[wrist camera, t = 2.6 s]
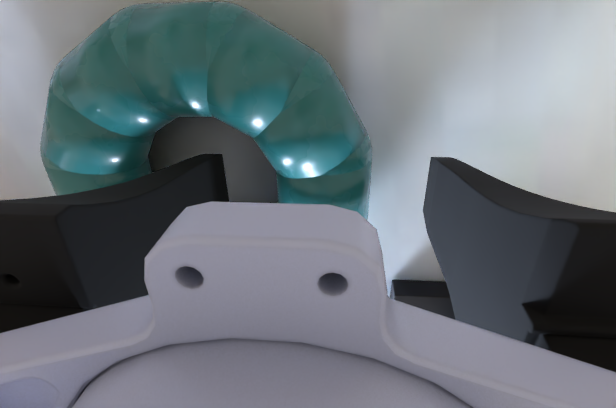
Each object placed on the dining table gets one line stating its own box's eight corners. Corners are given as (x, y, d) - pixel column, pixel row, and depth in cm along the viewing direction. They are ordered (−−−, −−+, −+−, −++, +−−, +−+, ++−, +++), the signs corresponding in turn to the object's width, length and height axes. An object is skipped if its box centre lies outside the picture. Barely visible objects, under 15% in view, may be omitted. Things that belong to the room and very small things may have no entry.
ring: (127, 269, 18) (86, 319, 15) (38, 6, 12) (-54, 8, 9) (360, 279, 17) (363, 336, 14) (378, -3, 11) (388, -3, 8)
